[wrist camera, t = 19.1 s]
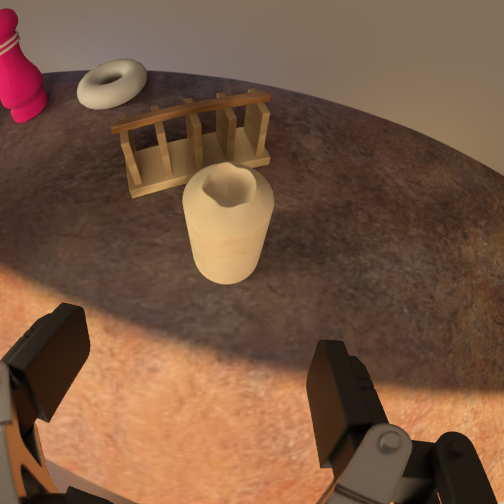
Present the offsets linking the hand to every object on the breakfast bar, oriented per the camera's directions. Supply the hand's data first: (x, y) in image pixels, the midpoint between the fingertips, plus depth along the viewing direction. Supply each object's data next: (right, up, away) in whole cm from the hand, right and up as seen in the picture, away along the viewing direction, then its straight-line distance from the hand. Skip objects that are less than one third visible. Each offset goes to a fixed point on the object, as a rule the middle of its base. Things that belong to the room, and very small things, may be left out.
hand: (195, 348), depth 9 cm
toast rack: (-4, +12, +20) cm, 24 cm away
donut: (-17, +25, +25) cm, 39 cm away
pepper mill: (-32, +25, +23) cm, 46 cm away
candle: (0, +3, +17) cm, 17 cm away
